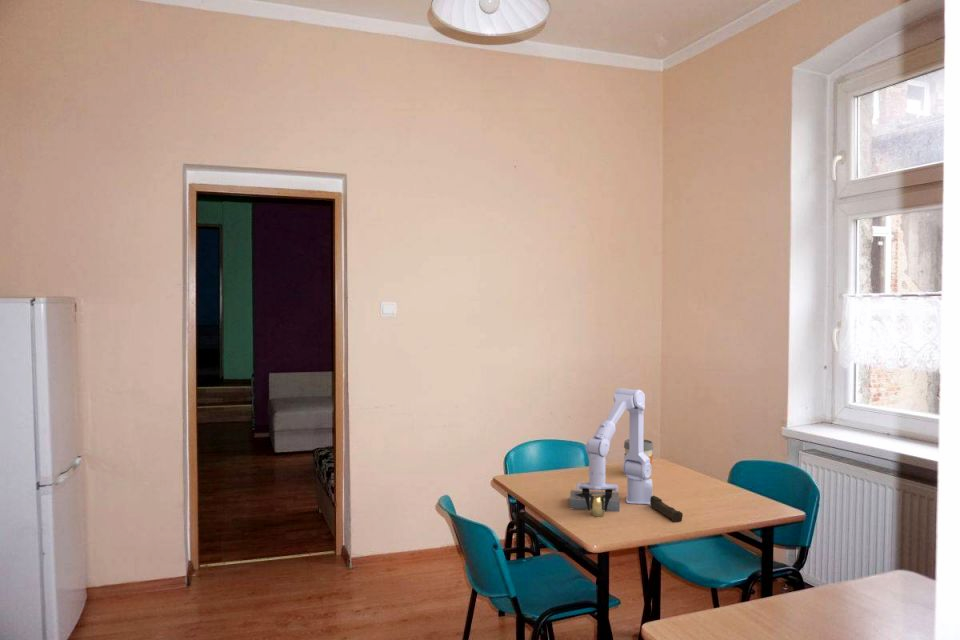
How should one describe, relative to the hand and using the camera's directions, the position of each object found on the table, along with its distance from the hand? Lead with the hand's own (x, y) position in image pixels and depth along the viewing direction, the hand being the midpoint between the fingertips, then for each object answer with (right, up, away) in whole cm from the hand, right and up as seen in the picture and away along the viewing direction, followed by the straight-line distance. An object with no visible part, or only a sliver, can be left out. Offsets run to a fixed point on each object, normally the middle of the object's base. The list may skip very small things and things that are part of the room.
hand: (597, 510), depth 229 cm
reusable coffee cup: (+28, -1, +55) cm, 62 cm away
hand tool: (+24, -2, +2) cm, 24 cm away
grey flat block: (+1, -2, +12) cm, 12 cm away
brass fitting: (0, -2, 0) cm, 2 cm away
